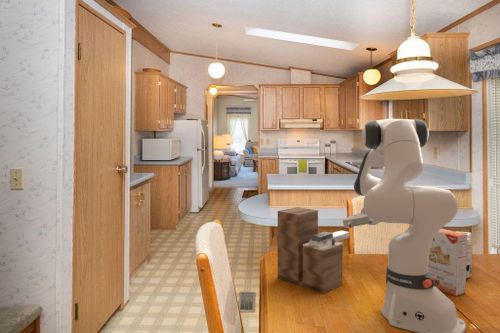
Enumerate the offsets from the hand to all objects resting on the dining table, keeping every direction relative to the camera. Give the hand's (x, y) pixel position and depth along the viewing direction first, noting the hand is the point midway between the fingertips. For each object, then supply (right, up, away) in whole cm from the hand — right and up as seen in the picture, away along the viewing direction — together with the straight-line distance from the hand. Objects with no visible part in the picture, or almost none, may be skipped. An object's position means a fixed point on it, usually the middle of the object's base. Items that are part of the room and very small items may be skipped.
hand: (360, 224), depth 151 cm
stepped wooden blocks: (-22, -20, -10) cm, 31 cm away
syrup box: (+44, -19, +5) cm, 48 cm away
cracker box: (+24, -20, -17) cm, 36 cm away
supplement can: (+37, -20, -5) cm, 42 cm away
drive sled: (-15, -4, -12) cm, 20 cm away
